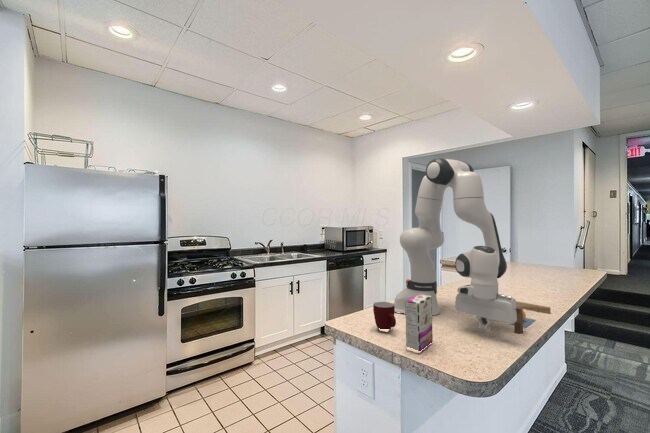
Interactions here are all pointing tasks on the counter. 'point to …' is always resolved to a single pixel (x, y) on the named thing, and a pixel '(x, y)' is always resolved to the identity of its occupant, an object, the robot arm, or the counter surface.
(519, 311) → the bridge
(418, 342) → the candy bar box
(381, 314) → the mug
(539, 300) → the counter surface
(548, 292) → the counter surface
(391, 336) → the counter surface
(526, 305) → the wall
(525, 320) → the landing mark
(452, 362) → the counter surface
